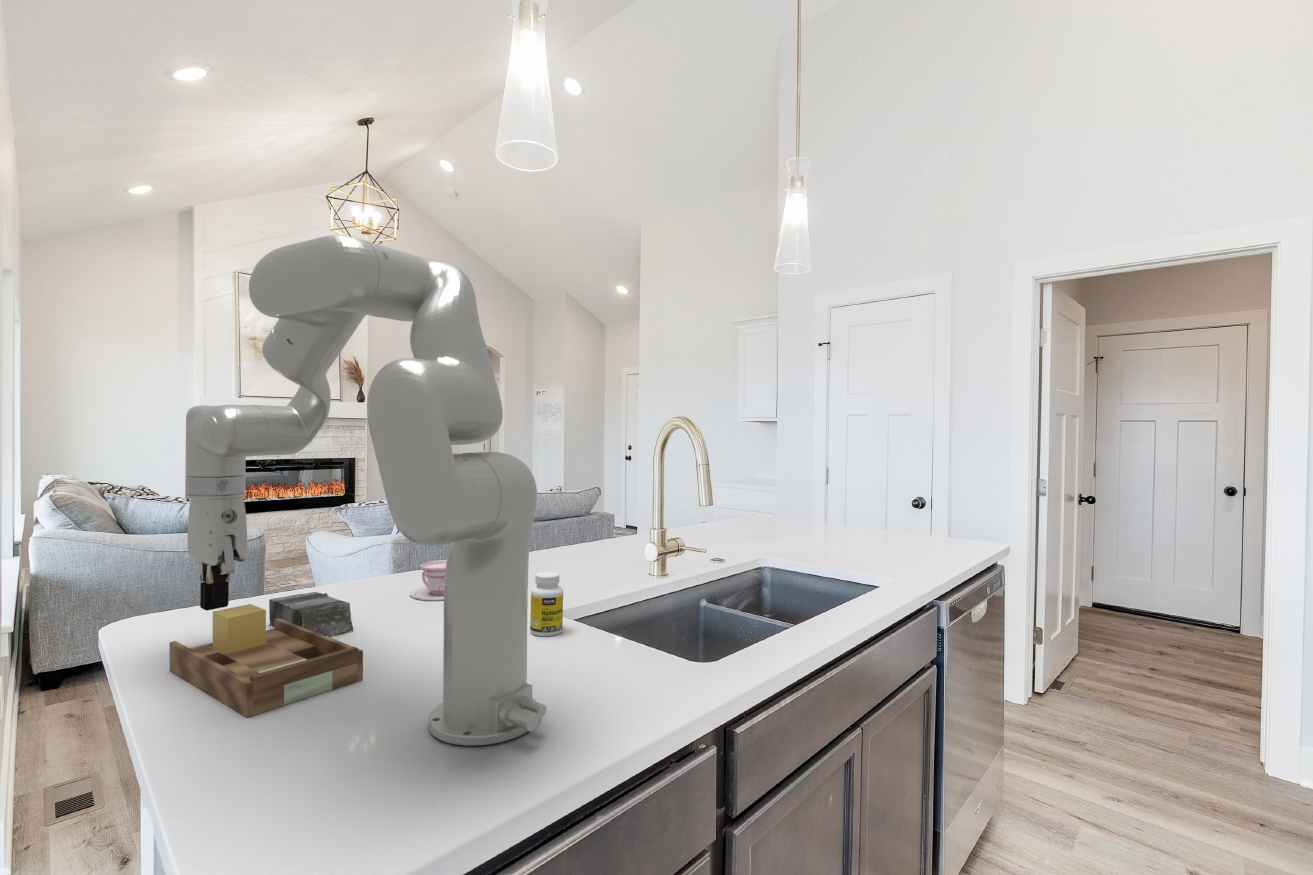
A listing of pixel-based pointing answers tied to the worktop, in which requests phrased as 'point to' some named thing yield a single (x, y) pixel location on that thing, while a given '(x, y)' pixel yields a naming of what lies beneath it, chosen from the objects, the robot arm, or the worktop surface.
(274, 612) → the stone block
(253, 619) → the block
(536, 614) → the supplement bottle
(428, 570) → the teacup
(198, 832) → the worktop surface
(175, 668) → the box
